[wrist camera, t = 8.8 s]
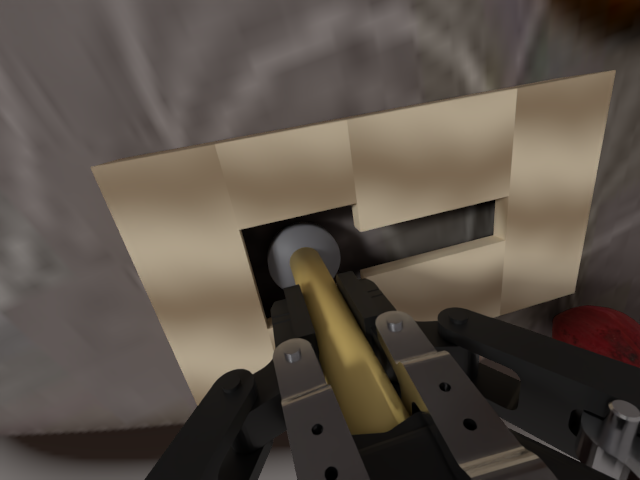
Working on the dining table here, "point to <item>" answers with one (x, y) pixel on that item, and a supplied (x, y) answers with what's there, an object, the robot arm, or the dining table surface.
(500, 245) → the keyhole board
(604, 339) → the onion
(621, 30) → the dining table surface
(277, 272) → the headed peg
